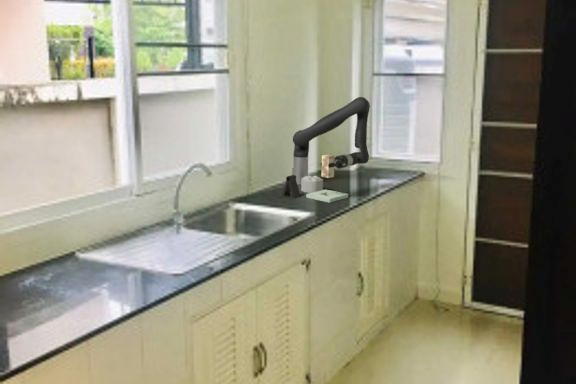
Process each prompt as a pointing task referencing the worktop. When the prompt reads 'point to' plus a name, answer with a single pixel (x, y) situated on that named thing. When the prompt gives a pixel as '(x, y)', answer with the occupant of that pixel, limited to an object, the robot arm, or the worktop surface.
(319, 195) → the pocket frame
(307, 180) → the lumpy-topped squat cylinder
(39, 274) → the worktop surface
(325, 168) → the birch block
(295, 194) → the phone stand
